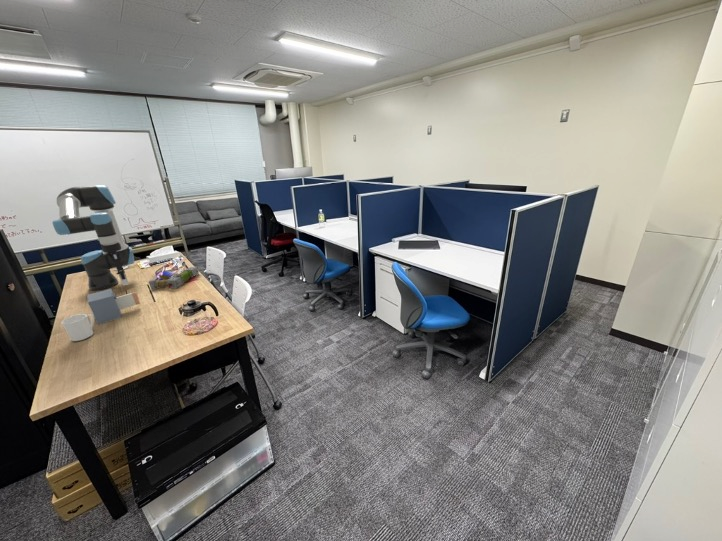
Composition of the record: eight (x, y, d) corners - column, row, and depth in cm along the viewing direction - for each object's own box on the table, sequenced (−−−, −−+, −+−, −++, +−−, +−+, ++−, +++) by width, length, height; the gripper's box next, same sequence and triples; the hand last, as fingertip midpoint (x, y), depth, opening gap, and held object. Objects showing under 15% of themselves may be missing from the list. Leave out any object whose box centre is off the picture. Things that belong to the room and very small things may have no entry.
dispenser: (96, 315, 158) (87, 294, 153) (120, 308, 164) (112, 288, 159) (97, 324, 149) (88, 302, 144) (123, 316, 156) (114, 295, 151)
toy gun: (175, 275, 211) (201, 274, 209) (148, 291, 186) (177, 290, 184) (173, 266, 209) (199, 265, 207) (144, 281, 183) (174, 280, 182)
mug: (74, 344, 134) (64, 326, 130) (67, 339, 138) (58, 320, 134) (103, 332, 142) (95, 314, 138) (96, 327, 147) (88, 310, 143)
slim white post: (99, 314, 154) (94, 303, 151) (139, 302, 165) (135, 291, 162) (99, 315, 153) (94, 304, 150) (140, 303, 164) (136, 292, 162)
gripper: (99, 240, 155) (113, 276, 163) (102, 250, 138) (118, 290, 146) (116, 237, 160) (129, 272, 168) (121, 246, 143) (136, 285, 151)
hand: (124, 280), depth 157 cm, fingers open, 13 cm apart
